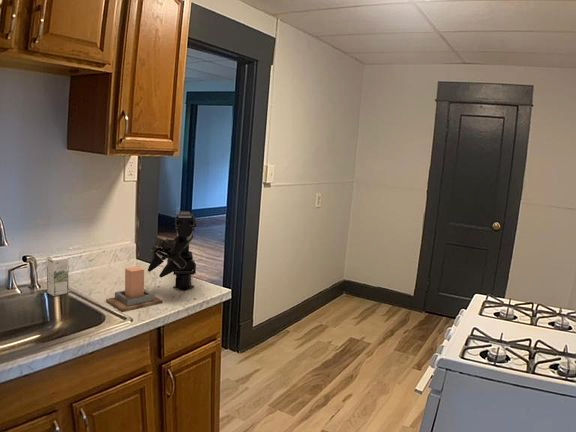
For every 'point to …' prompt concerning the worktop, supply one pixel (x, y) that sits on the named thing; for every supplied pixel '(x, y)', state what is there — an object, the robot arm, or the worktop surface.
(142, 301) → the collar board
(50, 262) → the syrup box
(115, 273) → the worktop surface
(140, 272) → the terracotta block
